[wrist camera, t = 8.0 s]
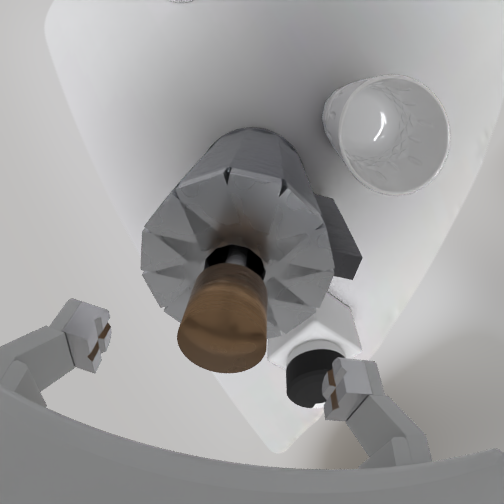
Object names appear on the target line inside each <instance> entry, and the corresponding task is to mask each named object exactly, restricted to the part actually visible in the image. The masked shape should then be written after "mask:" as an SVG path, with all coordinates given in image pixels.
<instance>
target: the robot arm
mask: <svg viewBox="0 0 504 504" xmlns="http://www.w3.org/2000/svg"><path fill="white" fill-rule="evenodd" d="M109 318H110V315H109V311H108V310H107V309H104V308H100V307H98V306H95V305H91V304H88V303H85V302H82V301H79V300H76V299H73V298H71V299H69V300H68V301H67V303H66V304H65V305H64V307H63V308H62V309H61V311H60V312H59V314H58V315H57V316H56V318H55V319H54V321H53V322H52V324H51V325H50V326H49V327H48V326H44V327H42V328H40V329H38V330H36V331H33V332H31V333H29V334H27V335H25V336H22V337H20V338H18V339H16V340H14V341H12V342H9V343H7V344H5V345H3V346H1V347H0V504H504V453H503V452H502V451H501V450H500V449H497V448H493V449H489V450H485V451H481V452H477V453H473V454H468V455H464V456H459V457H454V458H449V459H444V460H438V461H432V458H431V454H430V450H429V446H428V442H427V438H426V435H425V434H424V432H423V431H422V430H421V429H420V428H419V427H418V426H417V425H416V424H415V423H414V422H413V421H412V420H411V419H410V418H409V417H408V416H407V415H406V414H405V413H404V412H403V410H401V408H400V407H398V405H397V404H396V403H395V402H394V401H393V400H392V399H391V398H390V397H389V396H385V393H384V390H383V385H382V382H381V379H380V375H379V371H378V367H377V364H376V363H375V361H367V360H358V359H348V358H339V357H337V358H336V359H335V360H334V362H333V363H332V367H333V369H331V370H329V371H327V373H326V375H325V377H324V380H323V383H322V394H323V396H324V397H325V399H326V400H327V401H326V402H325V404H324V413H325V420H334V421H346V424H347V425H348V427H349V428H350V429H351V431H352V432H353V434H354V435H355V437H356V438H357V440H358V441H359V443H360V444H361V446H362V447H363V449H364V450H365V452H366V453H367V454H368V456H369V457H370V458H369V459H367V460H366V461H365V462H364V463H362V464H361V465H360V466H359V469H338V470H337V469H336V470H329V469H328V470H327V469H326V470H325V469H293V468H279V467H267V466H257V465H249V464H241V463H233V462H227V461H221V460H215V459H208V458H203V457H198V456H193V455H188V454H184V453H179V452H175V451H171V450H166V449H162V448H158V447H154V446H151V445H147V444H143V443H140V442H136V441H133V440H130V439H127V438H123V437H120V436H117V435H114V434H111V433H108V432H105V431H102V430H99V429H97V428H94V427H91V426H89V425H86V424H83V423H81V422H78V421H76V420H73V419H71V418H68V417H66V416H64V415H61V414H59V413H57V412H54V411H52V410H50V409H48V408H46V406H47V405H46V402H45V401H44V399H43V397H42V395H41V393H40V392H41V391H42V390H43V389H45V388H46V387H48V386H49V385H51V384H52V383H53V382H55V381H57V380H58V379H59V378H61V377H62V376H64V375H65V374H66V373H68V372H70V371H71V370H72V369H74V367H77V368H80V369H83V370H86V371H89V372H92V373H96V371H97V368H98V366H99V364H100V362H101V360H102V359H101V353H103V352H105V351H106V350H107V348H108V346H109V343H110V339H111V326H110V325H109V324H108V320H109Z"/></svg>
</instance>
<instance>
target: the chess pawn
mask: <svg viewBox="0 0 504 504" xmlns="http://www.w3.org/2000/svg"><path fill="white" fill-rule="evenodd" d="M170 1H173V2H177V3H185V2H189V1H193V0H170Z"/></svg>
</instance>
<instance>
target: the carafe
mask: <svg viewBox="0 0 504 504" xmlns="http://www.w3.org/2000/svg"><path fill="white" fill-rule="evenodd" d="M144 227H145V229H144V230H143V231H142V247H141V270H143V271H144V272H143V274H142V276H143V277H144V279H145V281H146V283H147V285H148V287H149V288H150V290H151V292H152V294H153V296H154V297H155V299H156V301H157V303H158V304H159V306H160V307H165V309H164V312H166V313H167V314H168V315H170V316H171V317H173V318H174V319H176V320H177V321H178V322H180V323H181V321H182V318H183V315H184V312H185V309H186V306H187V303H188V301H189V298H190V295H191V292H192V289H193V286H194V283H195V281H196V279H197V277H198V276H199V275H200V273H201V272H203V271H204V270H205V269H207V268H208V267H211V266H213V265H216V264H221V263H226V259H227V255H228V251H229V247H230V245H231V244H233V245H238V246H243V247H247V248H248V253H247V260H246V267H247V268H249V269H251V270H252V271H254V272H255V273H256V274H258V275H259V276H260V278H261V279H262V280H263V282H264V283H265V285H266V288H267V293H268V303H267V339H269V338H274V337H279V336H281V331H282V332H284V333H285V334H287V333H288V332H290V331H291V330H292V329H294V328H295V327H297V326H298V325H299V324H301V323H302V322H304V321H305V320H306V319H308V318H309V317H310V316H312V315H313V314H314V313H316V308H320V306H321V304H322V301H323V299H324V297H325V295H326V292H327V290H328V288H329V285H330V283H331V280H332V278H333V276H337V277H342V278H346V279H351V280H353V278H354V276H355V273H356V271H357V269H358V267H359V264H360V262H361V260H362V256H361V254H360V252H359V249H358V247H357V245H356V243H355V241H354V239H353V237H352V235H351V233H350V231H349V229H348V227H347V225H346V223H345V221H344V219H343V217H342V215H341V213H340V211H339V209H338V207H337V205H336V204H335V202H334V200H333V199H332V198H328V197H324V196H320V195H317V194H314V193H313V190H312V188H311V185H310V183H309V180H308V178H307V175H306V173H305V170H304V168H303V165H302V162H301V160H300V157H299V155H298V154H297V152H296V150H295V149H294V148H293V146H292V145H291V144H290V143H289V142H288V141H287V140H286V139H284V138H283V137H282V136H280V135H278V134H277V133H274V132H272V131H270V130H266V129H262V128H254V127H249V128H241V129H237V130H234V131H231V132H229V133H227V134H225V135H224V136H222V137H221V138H219V139H218V140H217V141H216V142H215V143H214V144H213V145H212V146H211V147H210V148H209V150H208V151H207V153H206V154H205V155H204V156H203V157H202V158H201V159H200V160H199V161H198V162H197V164H196V165H195V166H194V167H193V168H192V169H191V170H190V171H189V172H188V173H187V174H186V176H185V177H184V178H183V179H182V180H181V181H180V182H179V183H178V185H177V186H176V187H175V188H174V189H173V190H172V192H171V193H170V194H169V195H168V196H167V198H166V199H165V200H164V201H163V203H162V204H161V205H160V207H159V208H158V209H157V210H156V212H155V213H154V214H153V216H152V217H151V218H150V219H149V221H148V222H147V223H146V225H145V226H144Z"/></svg>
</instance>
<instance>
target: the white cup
mask: <svg viewBox="0 0 504 504" xmlns="http://www.w3.org/2000/svg"><path fill="white" fill-rule="evenodd" d="M322 121H323V125H324V129H325V134H326V135H327V137H328V138H329V140H330V142H331V144H332V146H333V147H334V149H335V150H336V152H337V154H338V155H339V156H340V158H341V159H342V160H343V162H344V163H345V165H346V166H347V167H348V169H349V170H350V172H351V173H352V174H353V175H354V177H355V178H356V179H357V180H358V181H359V182H361V183H362V184H363V185H365V186H366V187H368V188H369V189H371V190H373V191H375V192H378V193H381V194H385V195H393V196H398V195H406V194H410V193H413V192H416V191H418V190H420V189H422V188H423V187H425V186H426V185H428V184H429V183H430V182H431V181H432V180H433V179H434V178H435V177H436V176H437V175H438V174H439V172H440V171H441V169H442V167H443V166H444V164H445V161H446V159H447V156H448V152H449V148H450V125H449V121H448V117H447V114H446V112H445V109H444V107H443V105H442V104H441V102H440V100H439V99H438V98H437V96H436V95H435V94H434V93H433V92H432V91H431V90H430V89H429V88H428V87H427V86H425V85H424V84H422V83H421V82H419V81H417V80H415V79H413V78H411V77H408V76H404V75H397V74H388V75H381V76H376V77H372V78H367V79H362V80H358V81H356V82H352V83H349V84H347V85H345V86H344V87H341V88H339V89H337V90H335V91H334V92H333V94H332V95H331V96H330V97H329V98H328V100H327V101H326V102H325V106H324V110H323V115H322Z"/></svg>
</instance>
